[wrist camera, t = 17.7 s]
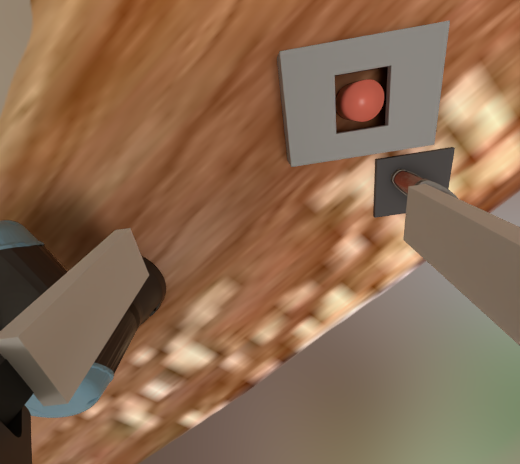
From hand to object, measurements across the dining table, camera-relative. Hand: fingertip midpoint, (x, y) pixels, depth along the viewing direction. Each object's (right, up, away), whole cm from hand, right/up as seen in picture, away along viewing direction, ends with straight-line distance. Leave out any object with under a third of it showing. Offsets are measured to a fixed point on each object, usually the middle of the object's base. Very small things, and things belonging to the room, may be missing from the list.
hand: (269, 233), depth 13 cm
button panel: (+13, +19, +26) cm, 35 cm away
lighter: (+25, +8, +31) cm, 41 cm away
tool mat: (+25, +8, +32) cm, 41 cm away
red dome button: (+13, +19, +25) cm, 34 cm away
